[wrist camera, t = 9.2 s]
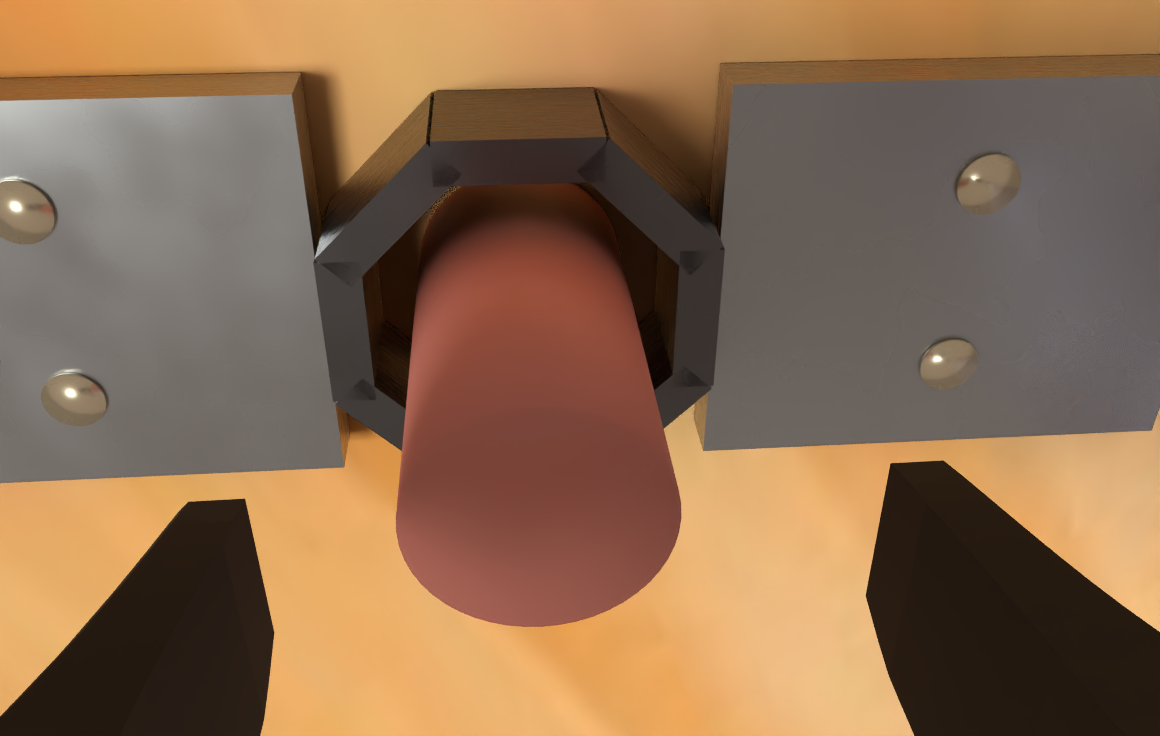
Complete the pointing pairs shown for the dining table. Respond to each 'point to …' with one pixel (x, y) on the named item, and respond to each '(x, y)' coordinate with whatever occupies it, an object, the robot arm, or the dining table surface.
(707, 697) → the dining table surface
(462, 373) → the hinge pin
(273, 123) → the hinge
